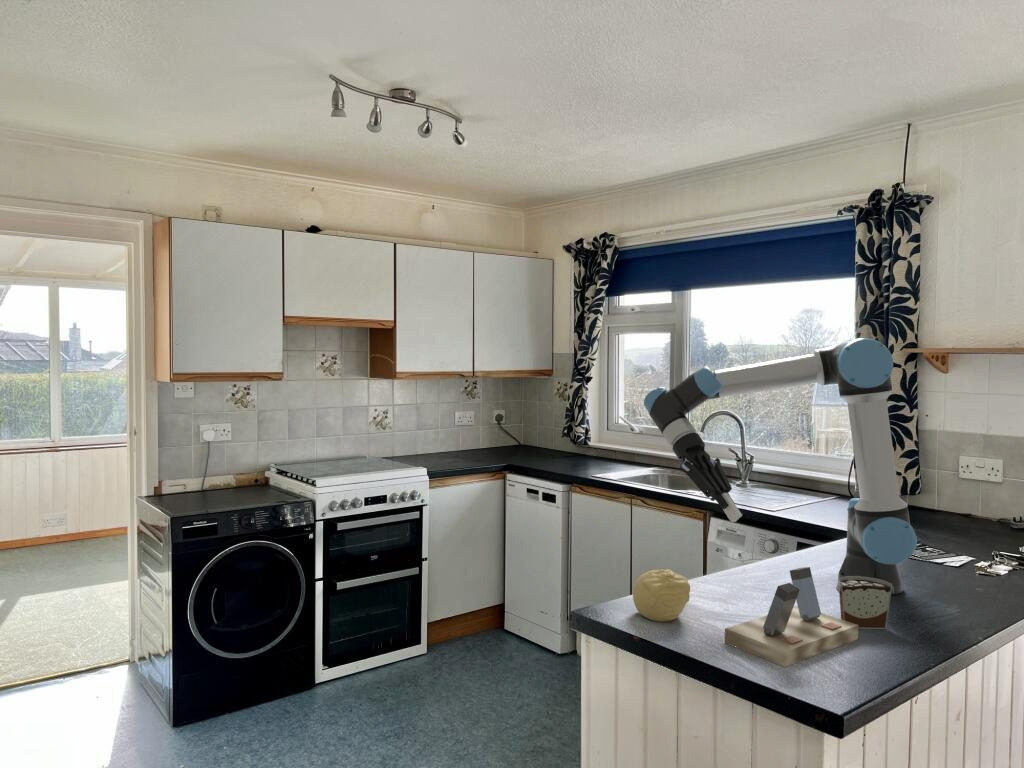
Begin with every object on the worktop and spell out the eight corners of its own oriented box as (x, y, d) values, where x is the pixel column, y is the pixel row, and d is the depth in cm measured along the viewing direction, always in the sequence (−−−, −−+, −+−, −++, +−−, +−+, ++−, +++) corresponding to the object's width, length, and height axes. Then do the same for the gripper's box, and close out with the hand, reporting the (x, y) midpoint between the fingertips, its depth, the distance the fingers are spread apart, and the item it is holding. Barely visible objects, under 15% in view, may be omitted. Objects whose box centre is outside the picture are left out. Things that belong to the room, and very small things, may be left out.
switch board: (798, 618, 166) (798, 604, 166) (858, 639, 154) (858, 623, 154) (724, 642, 150) (725, 626, 150) (784, 667, 139) (785, 650, 139)
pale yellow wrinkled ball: (653, 629, 157) (654, 579, 157) (623, 610, 168) (624, 564, 168) (696, 622, 162) (698, 574, 162) (664, 605, 173) (666, 560, 172)
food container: (877, 619, 167) (879, 575, 167) (892, 629, 161) (894, 584, 160) (824, 618, 166) (826, 574, 166) (837, 628, 160) (839, 583, 160)
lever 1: (774, 627, 150) (790, 582, 147) (783, 634, 149) (800, 589, 145) (761, 631, 148) (777, 586, 145) (770, 638, 146) (787, 593, 143)
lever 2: (812, 617, 159) (800, 567, 161) (822, 617, 157) (810, 566, 159) (800, 621, 156) (788, 570, 158) (810, 621, 154) (798, 569, 156)
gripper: (693, 448, 191) (744, 524, 178) (658, 451, 183) (709, 531, 170) (710, 430, 186) (764, 506, 173) (675, 432, 179) (728, 512, 166)
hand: (736, 518), depth 172 cm, fingers closed
